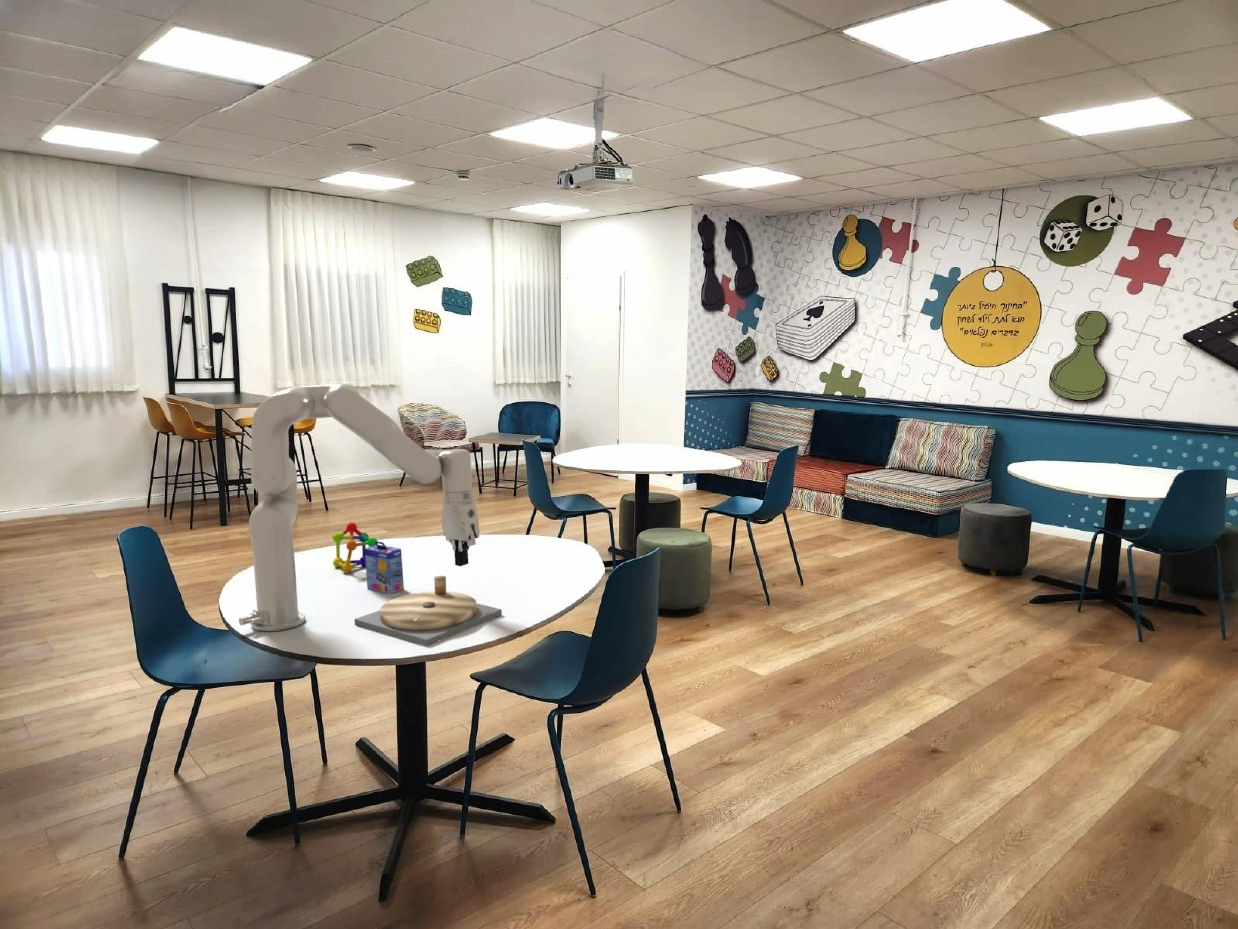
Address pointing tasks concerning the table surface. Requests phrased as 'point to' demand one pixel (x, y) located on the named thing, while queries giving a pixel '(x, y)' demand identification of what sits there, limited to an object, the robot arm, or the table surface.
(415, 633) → the base plate
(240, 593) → the table surface
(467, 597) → the turntable
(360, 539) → the educational toy
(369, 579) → the ink cartridge box
